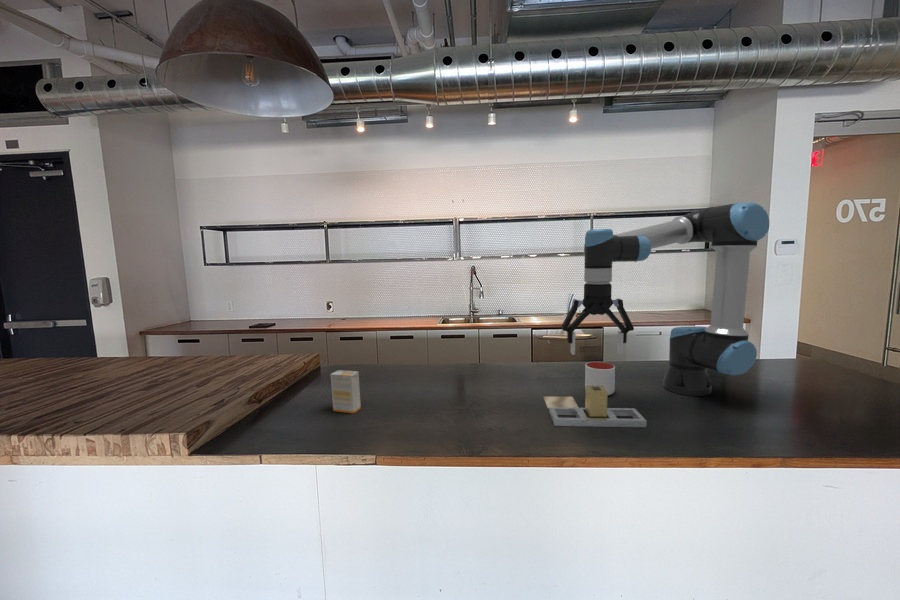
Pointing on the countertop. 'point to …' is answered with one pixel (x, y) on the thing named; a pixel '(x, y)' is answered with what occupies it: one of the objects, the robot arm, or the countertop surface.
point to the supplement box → (345, 391)
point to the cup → (600, 375)
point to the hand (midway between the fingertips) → (596, 354)
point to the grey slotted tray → (597, 422)
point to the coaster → (560, 402)
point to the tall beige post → (596, 402)
